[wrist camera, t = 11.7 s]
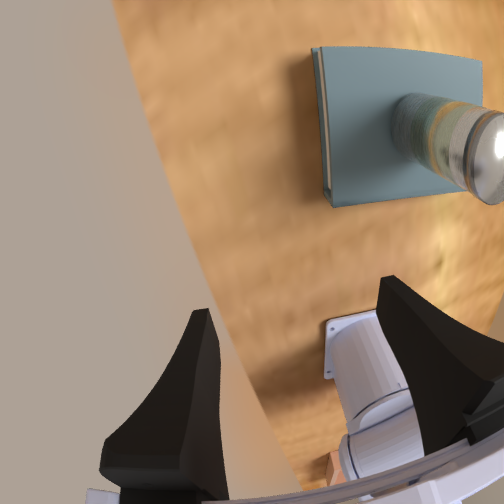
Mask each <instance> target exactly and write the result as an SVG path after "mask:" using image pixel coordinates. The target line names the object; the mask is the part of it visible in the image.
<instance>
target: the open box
mask: <svg viewBox="0 0 504 504" xmlns="http://www.w3.org/2000/svg"><path fill="white" fill-rule="evenodd" d="M325 476H326V481H327V486H332V485H336V484H340V483H344V482H347V481H346V479H345V477H344V474H343V472H342V469H341V465H340V461H339V453H338V451H334V452H330V455H329V460H328V464H327V469H326V473H325Z"/></svg>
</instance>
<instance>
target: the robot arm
mask: <svg viewBox="0 0 504 504" xmlns="http://www.w3.org/2000/svg"><path fill="white" fill-rule="evenodd" d="M220 370H221V359H220V347H219V340H218V337H217V334H216V331H215V327H214V325H213V321H212V318H211V315H210V312H209V309H208V308H206V309H199V310H194V311H193V312H192V314H191V316H190V319H189V322H188V324H187V326H186V329H185V331H184V333H183V336H182V338H181V340H180V342H179V344H178V346H177V349H176V350H175V353H174V354H173V356H172V358H171V360H170V362H169V363H168V365H167V367H166V369H165V371H164V372H163V374H162V376H161V377H160V379H159V380H158V382H157V383H156V385H155V386H154V388H153V389H152V390H151V392H150V393H149V394H148V396H147V397H146V398H145V400H144V401H143V402H142V403H141V405H140V406H139V407H138V408H137V409H136V410H135V411H134V412H133V414H132V415H131V416H130V417H129V418H128V419H127V420H126V421H125V422H124V423H123V424H122V425H121V426H120V427H119V428H118V429H117V430H116V431H115V432H114V433H112V434H111V435H110V436H109V437H108V438H107V439H106V440H105V442H104V446H103V449H102V454H101V461H100V468H99V471H100V473H101V475H102V476H104V477H105V478H106V479H108V480H109V481H111V482H113V483H114V484H116V485H118V486H120V487H121V492H120V494H119V493H116V492H111V491H104V490H97V489H91V488H89V489H87V494H86V503H85V504H335V503H340V502H344V501H348V500H352V499H356V498H358V500H359V503H355V504H462V502H461V500H463V499H465V498H467V497H469V496H471V495H473V494H474V493H476V492H478V491H480V490H481V489H483V488H485V487H487V486H488V485H490V484H492V483H493V482H495V481H496V480H498V479H499V478H501V477H503V476H504V343H503V342H500V341H497V340H495V339H492V338H490V337H487V336H485V335H483V334H481V333H479V332H477V331H474V330H472V329H470V328H469V327H467V326H465V325H463V324H461V323H460V322H458V321H456V320H454V319H453V318H451V317H450V316H448V315H447V314H445V313H444V312H442V311H441V310H439V309H438V308H436V307H435V306H434V305H432V304H431V303H429V302H428V301H427V300H425V299H424V298H423V297H421V296H420V295H419V294H418V293H416V292H415V291H414V290H412V289H411V288H410V287H409V286H407V285H406V284H405V283H403V282H402V281H401V280H400V279H398V278H397V277H395V276H394V275H391V276H387V277H382V278H381V280H380V287H379V294H378V301H377V307H376V310H372V311H368V312H363V313H359V314H354V315H349V316H345V317H340V318H335V319H331V320H328V321H327V322H326V337H325V360H324V378H325V379H331V378H334V381H335V384H336V388H337V391H338V394H339V398H340V401H341V404H342V408H343V411H344V415H345V418H346V420H347V422H348V423H346V426H347V429H348V434H345V435H344V436H343V437H342V439H341V442H340V445H339V449H338V453H339V461H340V465H341V469H342V472H343V474H344V477H345V479H346V481H347V482H344V483H340V484H336V485H332V486H327V487H323V488H318V489H313V490H308V491H302V492H296V493H290V494H284V495H277V496H270V497H261V498H252V499H240V500H229V493H228V487H227V481H226V475H225V467H224V459H223V450H222V441H221V431H220V420H219V419H220V418H219V402H220V401H219V400H220Z"/></svg>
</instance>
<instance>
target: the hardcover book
mask: <svg viewBox="0 0 504 504" xmlns="http://www.w3.org/2000/svg"><path fill="white" fill-rule="evenodd" d="M312 53H313V61H314V70H315V79H316V88H317V99H318V109H319V121H320V134H321V148H322V164H323V183H324V196H325V197H326V198H327V200H328V201H329V203H330V204H331V206H332V207H333V208H336V207H343V206H350V205H358V204H365V203H372V202H380V201H388V200H395V199H403V198H411V197H419V196H428V195H436V194H445V193H454V192H463V191H466V190H463V189H462V188H460V187H458V186H457V185H455V184H453V183H451V182H450V181H448V180H446V179H444V178H442V177H441V176H439V175H437V174H435V173H433V172H431V171H430V170H428V169H426V168H424V167H423V166H421V165H419V164H417V163H415V162H413V161H411V160H409V159H407V158H405V157H404V156H403V155H402V154H401V153H400V152H399V151H398V150H397V148H396V146H395V144H394V141H393V138H392V132H391V124H392V118H393V114H394V111H395V109H396V107H397V105H398V104H399V103H400V101H401V100H402V99H403V98H405V97H406V96H408V95H410V94H413V93H425V94H430V95H434V96H440V97H446V98H450V99H454V100H459V101H463V102H466V103H470V104H474V105H478V106H481V107H482V99H483V77H482V61H479V60H474V59H469V58H464V57H459V56H453V55H447V54H440V53H433V52H425V51H417V50H407V49H395V48H380V47H343V46H341V47H320V48H312Z"/></svg>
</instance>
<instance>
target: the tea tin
mask: <svg viewBox="0 0 504 504" xmlns="http://www.w3.org/2000/svg"><path fill="white" fill-rule="evenodd" d="M391 132H392V138H393V141H394V144H395V146H396V148H397V150H398V151H399V152H400V153H401V154H402V155H403V156H404V157H405V158H407V159H409V160H411V161H413V162H415V163H417V164H419V165H421V166H423V167H424V168H426V169H428V170H430V171H431V172H433V173H435V174H437V175H439V176H441V177H442V178H444V179H446V180H448V181H450V182H451V183H453V184H455V185H457V186H458V187H460V188H462V189H463V190H466V191H468V192H470V193H471V194H472V195H473V196H474V197H476V198H478V199H479V200H481V201H482V202H484V203H486V204H488V205H496V204H499V203H501V202H502V201H504V113H503V112H499V111H495V110H490V109H487V108H484V107H481V106H478V105H474V104H470V103H466V102H463V101H459V100H454V99H450V98H446V97H440V96H434V95H430V94H425V93H413V94H410V95H408V96H406V97H405V98H403V99H402V100H401V101H400V103H399V104H398V105H397V107H396V109H395V111H394V114H393V118H392V124H391Z"/></svg>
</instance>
